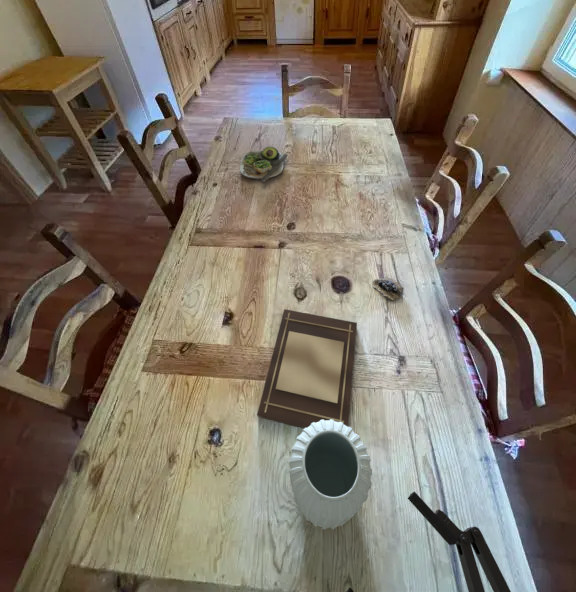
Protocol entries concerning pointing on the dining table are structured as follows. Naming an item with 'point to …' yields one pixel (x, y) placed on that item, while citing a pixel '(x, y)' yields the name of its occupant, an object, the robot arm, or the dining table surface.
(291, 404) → the picture frame
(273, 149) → the avocado toast plate
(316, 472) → the vase
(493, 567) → the robot arm
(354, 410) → the dining table surface
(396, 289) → the brown flat lumpy piece
